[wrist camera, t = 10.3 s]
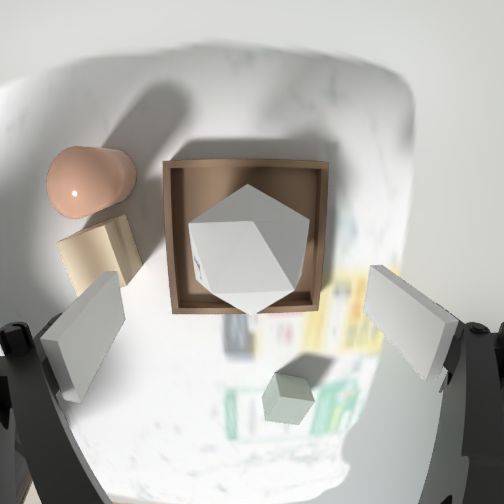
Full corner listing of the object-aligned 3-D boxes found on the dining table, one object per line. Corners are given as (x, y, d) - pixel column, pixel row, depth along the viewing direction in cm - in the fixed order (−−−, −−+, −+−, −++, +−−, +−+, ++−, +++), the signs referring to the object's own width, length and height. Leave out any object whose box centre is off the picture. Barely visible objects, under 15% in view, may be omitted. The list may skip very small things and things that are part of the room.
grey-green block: (261, 396, 32) (265, 420, 28) (274, 372, 31) (280, 396, 27) (292, 401, 33) (298, 424, 29) (306, 378, 32) (314, 401, 28)
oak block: (99, 277, 27) (78, 298, 22) (82, 229, 25) (56, 243, 20) (143, 264, 26) (126, 285, 22) (126, 213, 25) (104, 225, 20)
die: (231, 165, 24) (148, 219, 17) (333, 188, 21) (283, 263, 14) (232, 245, 29) (170, 311, 22) (318, 273, 26) (272, 358, 19)
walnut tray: (176, 302, 28) (172, 314, 25) (168, 161, 24) (162, 161, 22) (311, 299, 29) (318, 310, 26) (320, 161, 25) (328, 161, 23)
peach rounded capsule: (88, 205, 24) (49, 220, 18) (86, 152, 23) (45, 151, 16) (137, 202, 25) (107, 216, 18) (135, 146, 23) (104, 142, 17)
